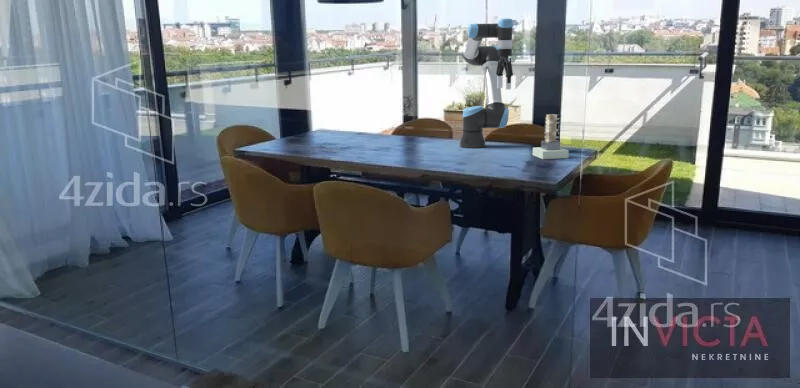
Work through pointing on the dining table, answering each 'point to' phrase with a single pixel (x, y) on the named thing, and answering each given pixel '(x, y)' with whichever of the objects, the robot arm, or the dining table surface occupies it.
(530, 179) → the dining table surface
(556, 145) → the cup bracket
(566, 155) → the mounting block
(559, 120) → the spotted tube
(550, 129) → the rail post
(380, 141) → the dining table surface
